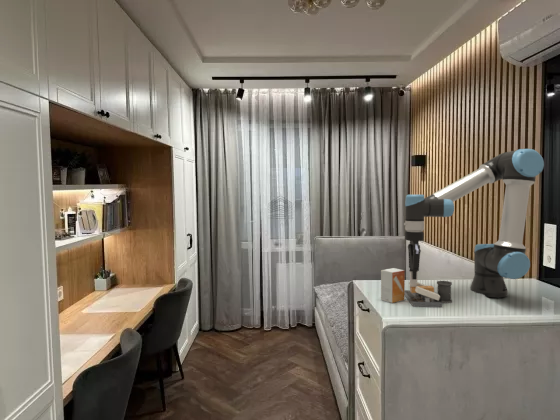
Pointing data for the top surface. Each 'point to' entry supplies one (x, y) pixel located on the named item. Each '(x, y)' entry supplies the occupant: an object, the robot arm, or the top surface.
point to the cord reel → (444, 291)
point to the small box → (392, 285)
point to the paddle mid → (423, 288)
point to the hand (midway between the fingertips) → (413, 286)
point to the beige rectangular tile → (427, 293)
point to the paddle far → (419, 284)
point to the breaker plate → (421, 300)
